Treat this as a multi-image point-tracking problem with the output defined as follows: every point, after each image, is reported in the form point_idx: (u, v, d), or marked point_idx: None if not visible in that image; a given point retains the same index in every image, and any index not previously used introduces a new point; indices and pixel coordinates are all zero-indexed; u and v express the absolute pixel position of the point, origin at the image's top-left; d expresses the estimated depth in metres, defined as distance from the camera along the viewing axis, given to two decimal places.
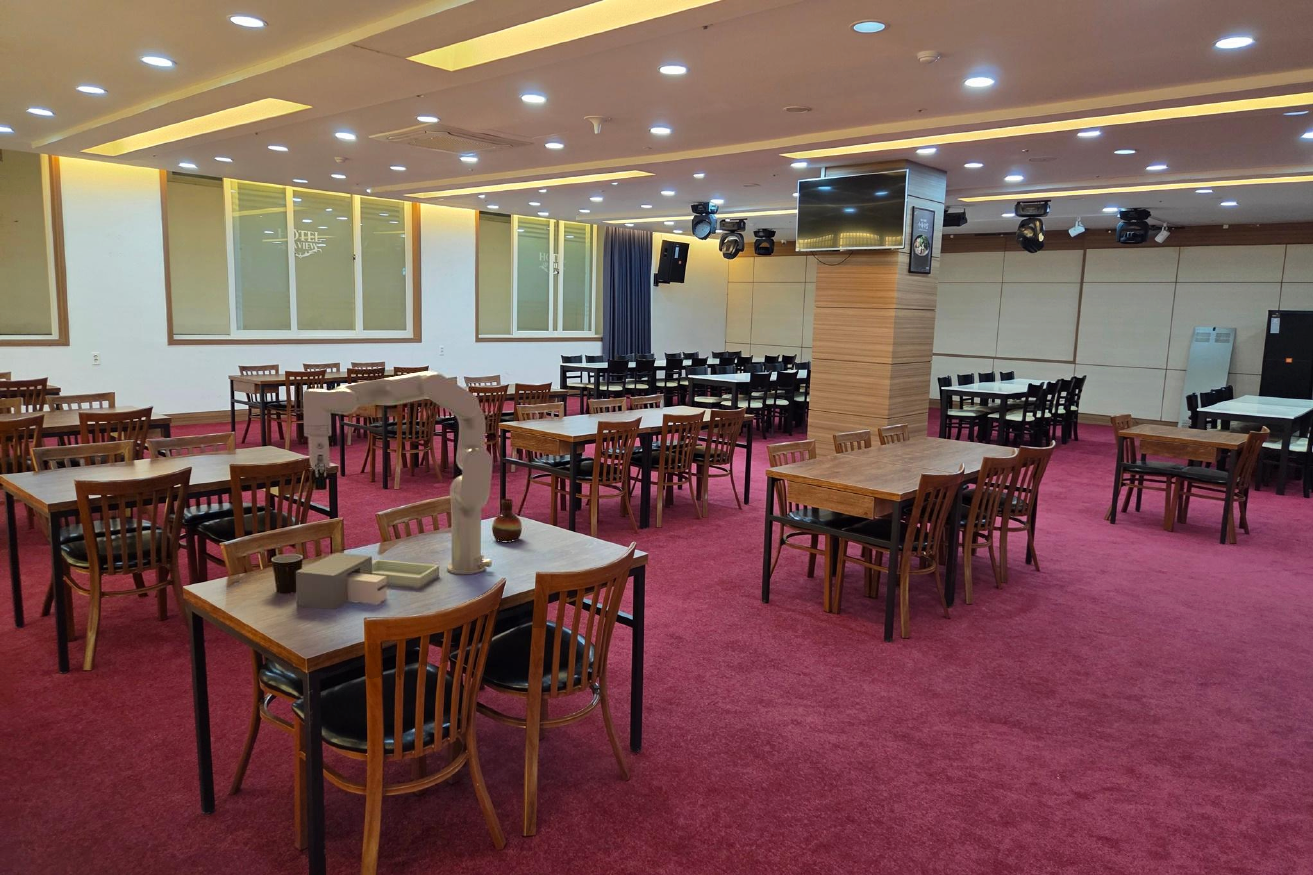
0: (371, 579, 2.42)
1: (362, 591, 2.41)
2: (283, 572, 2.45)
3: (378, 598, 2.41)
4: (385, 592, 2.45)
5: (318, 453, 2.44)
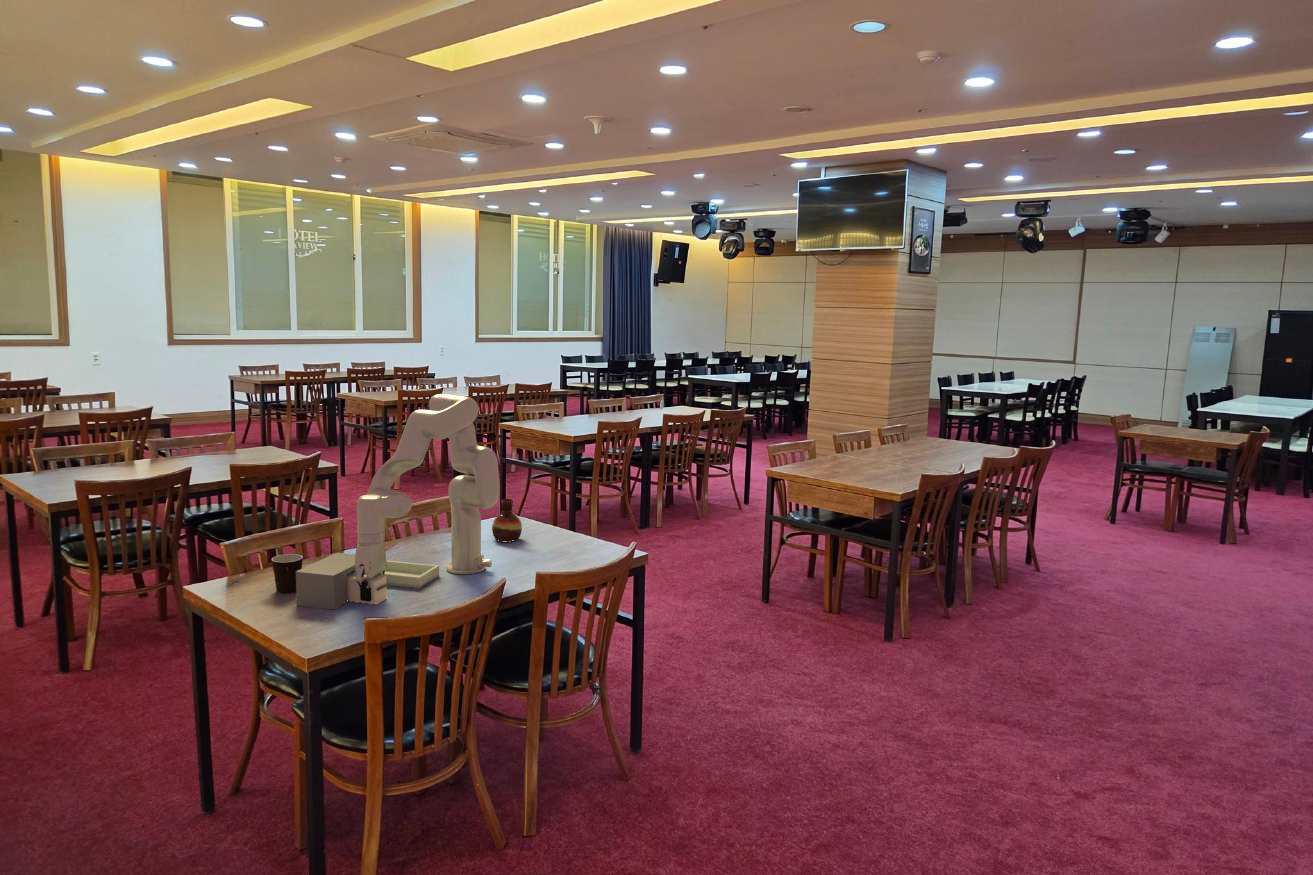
0: None
1: None
2: (283, 572, 2.45)
3: (376, 597, 2.41)
4: (385, 592, 2.45)
5: None
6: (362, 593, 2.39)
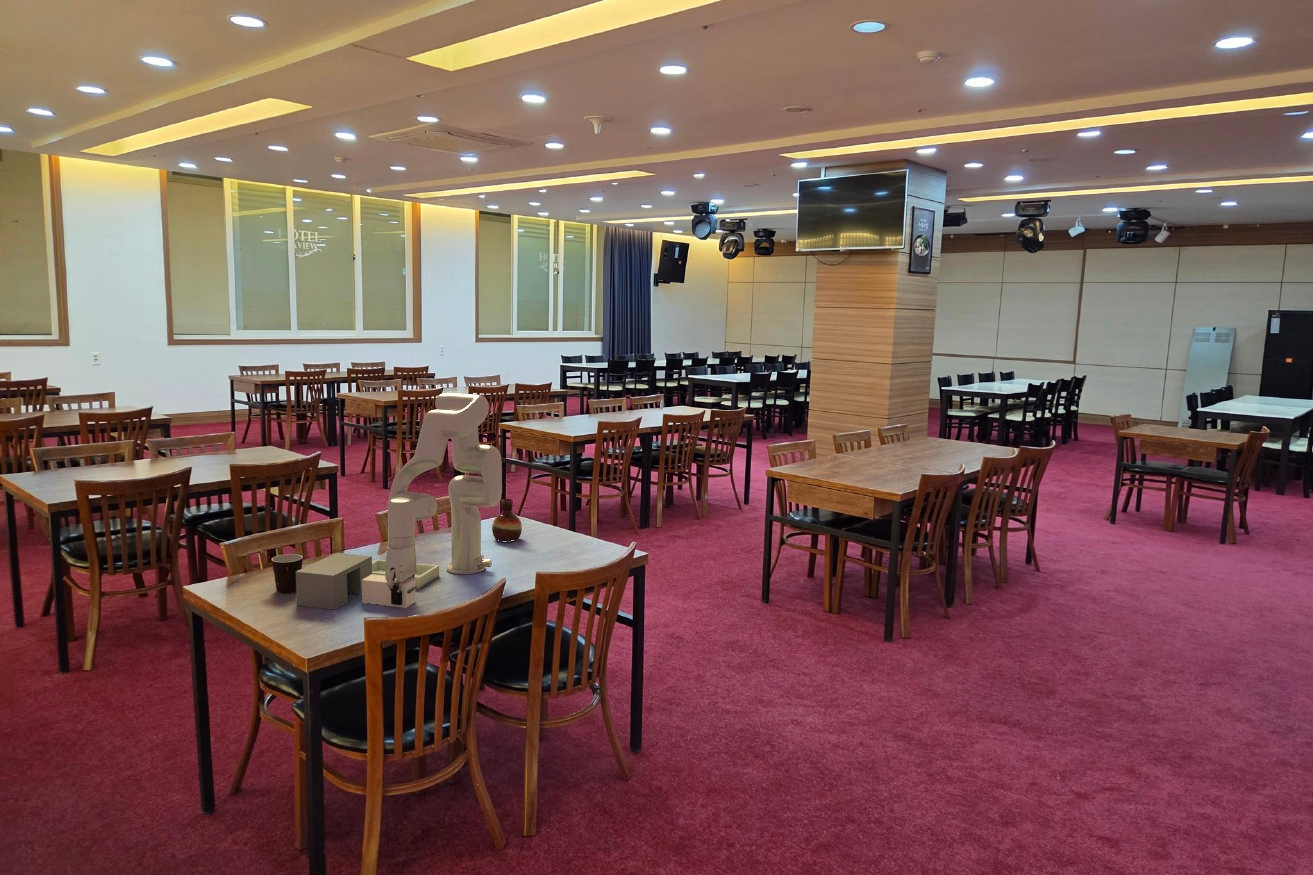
0: None
1: None
2: (283, 572, 2.45)
3: (407, 600, 2.39)
4: (414, 594, 2.43)
5: None
6: (393, 597, 2.37)
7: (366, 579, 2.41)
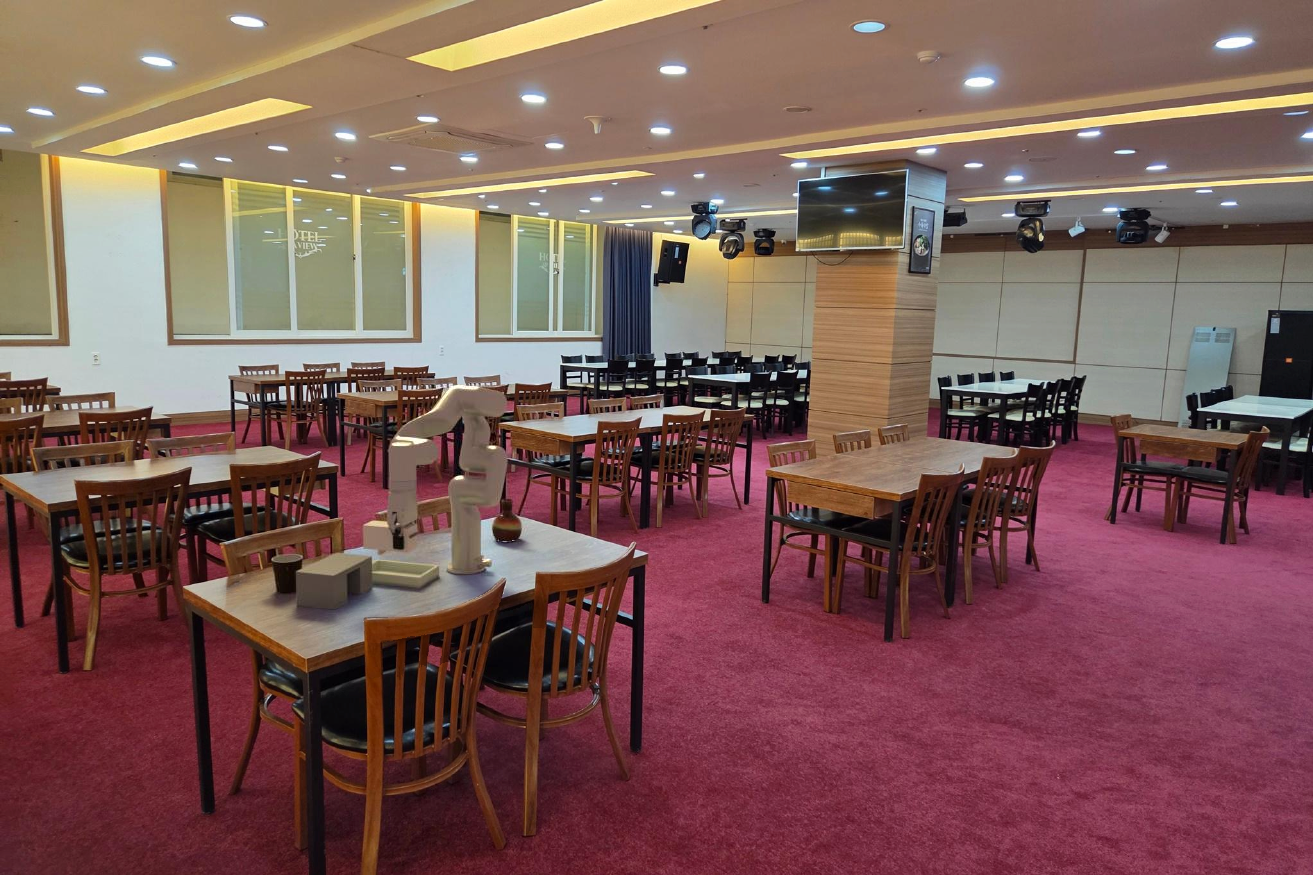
0: None
1: None
2: (283, 572, 2.45)
3: (409, 545, 2.38)
4: (416, 540, 2.42)
5: None
6: (395, 541, 2.36)
7: (367, 524, 2.40)
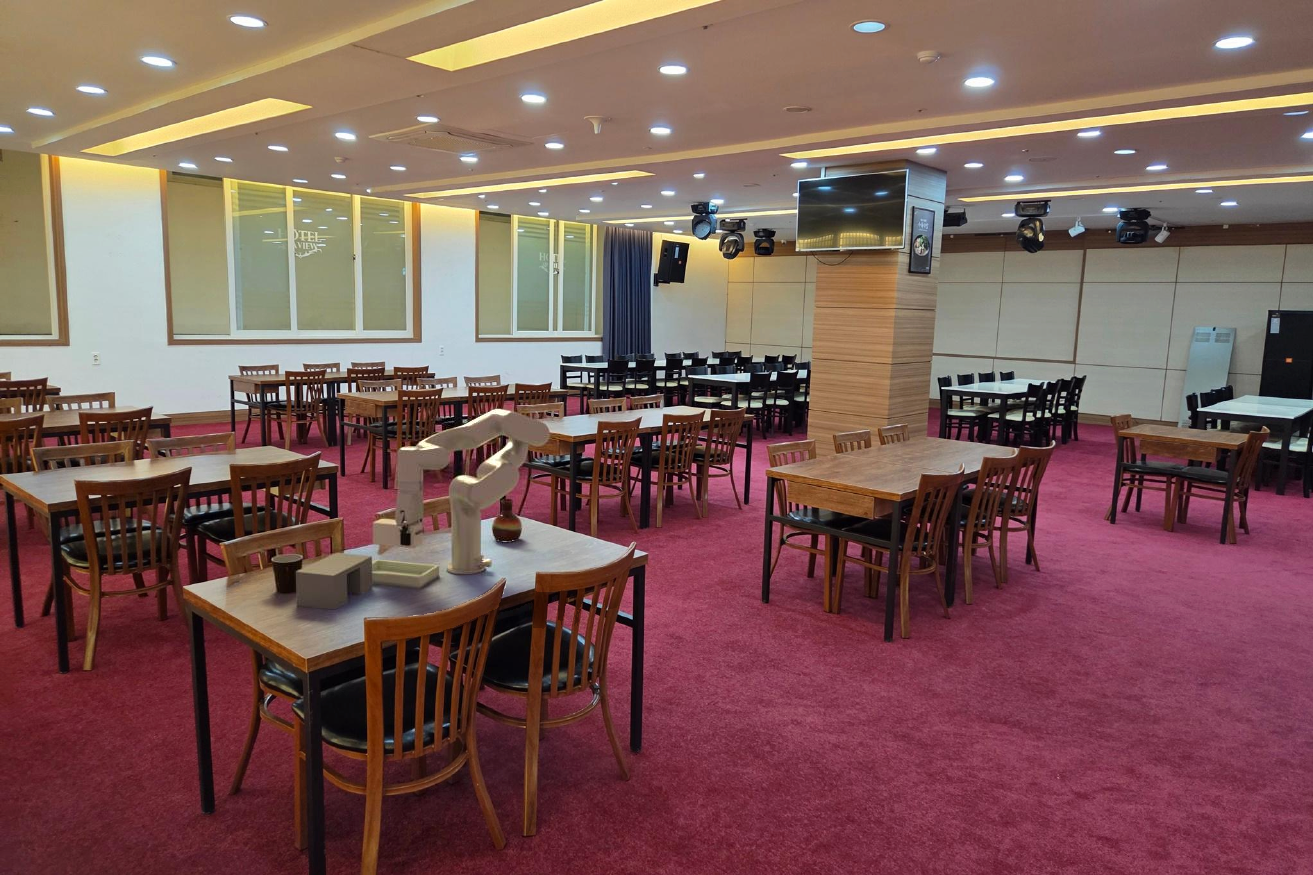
0: None
1: None
2: (283, 572, 2.45)
3: (415, 541, 2.58)
4: (422, 537, 2.63)
5: None
6: (402, 538, 2.57)
7: (377, 522, 2.60)
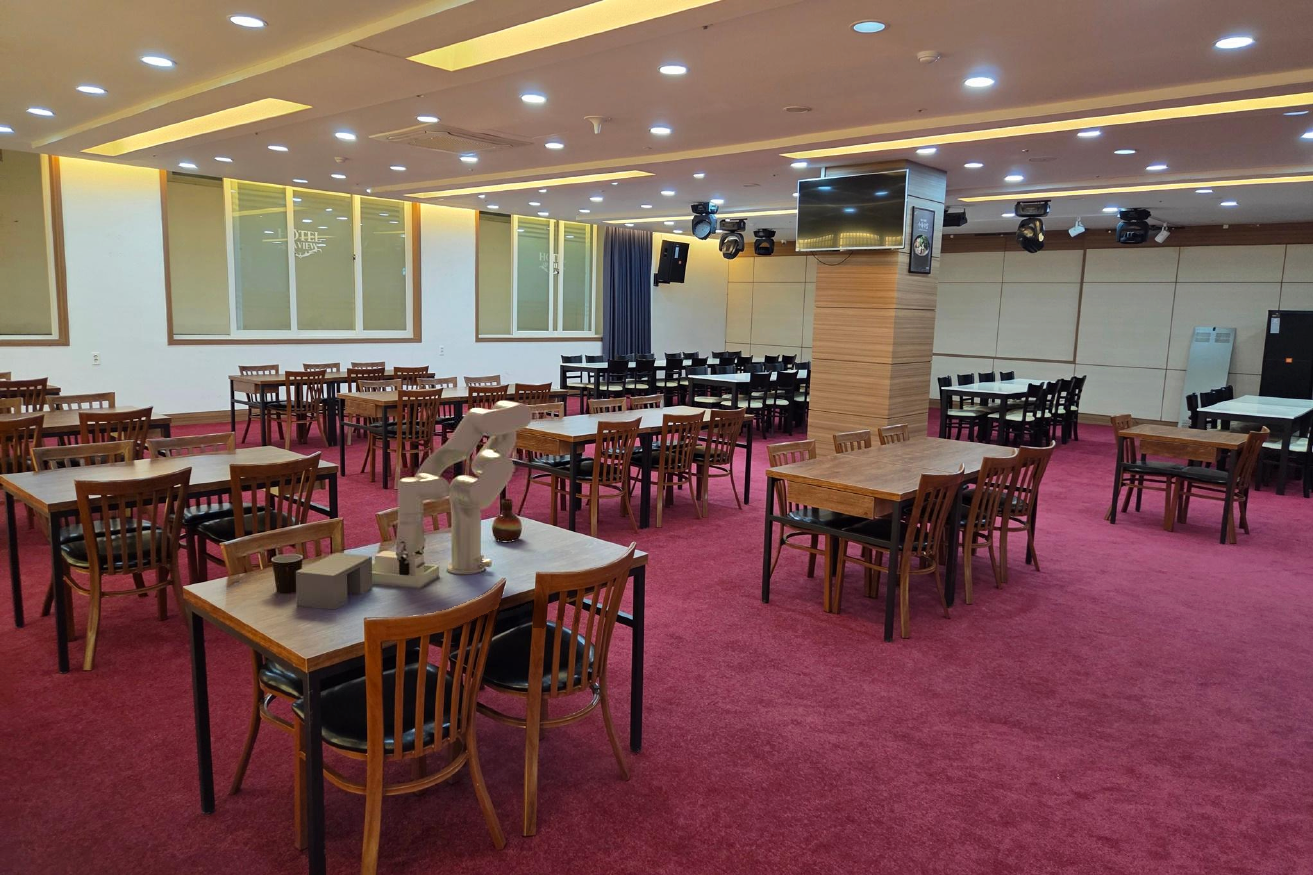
0: (410, 557, 2.61)
1: None
2: (283, 572, 2.45)
3: (416, 574, 2.60)
4: (423, 569, 2.64)
5: None
6: (401, 568, 2.57)
7: (379, 555, 2.62)
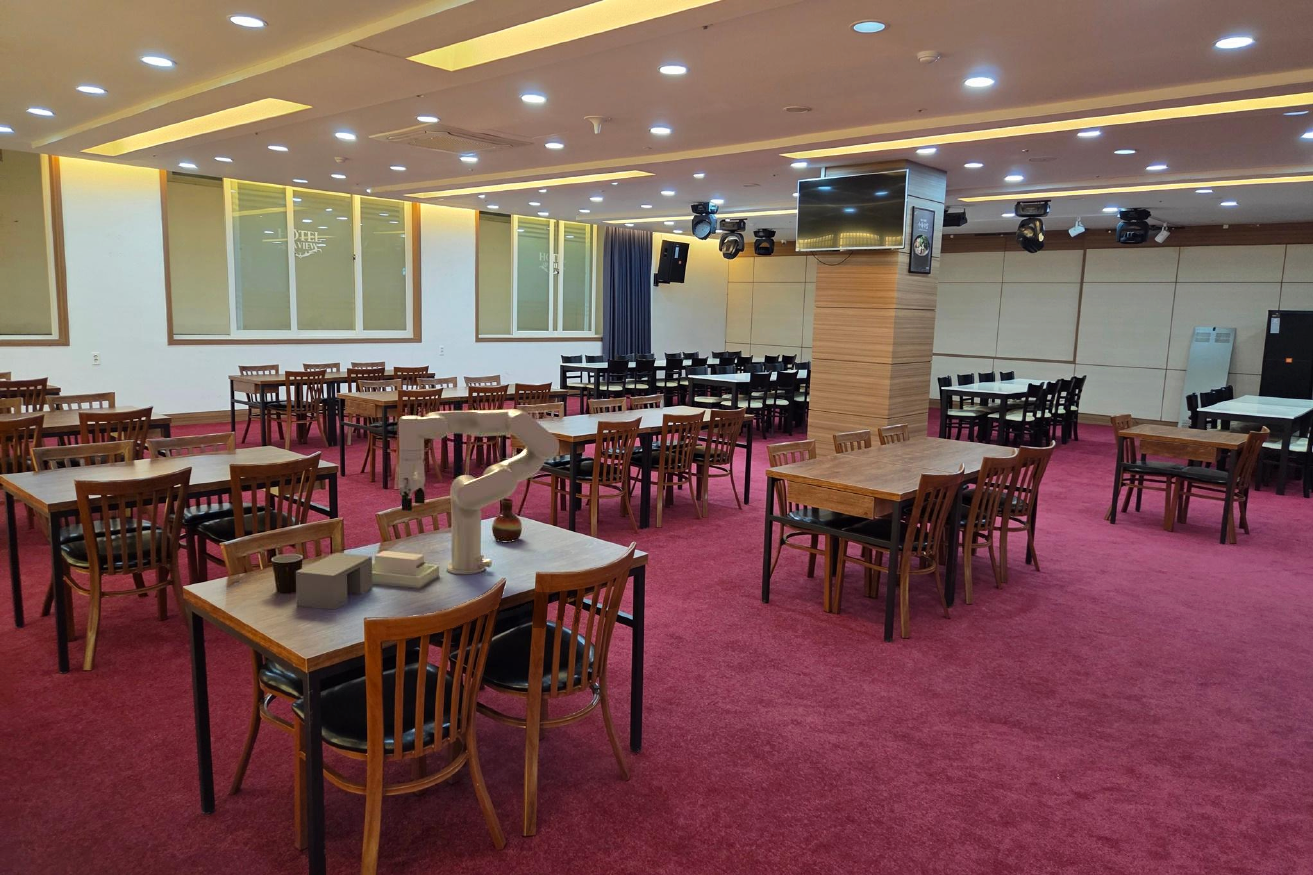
0: (410, 557, 2.61)
1: (402, 568, 2.60)
2: (283, 572, 2.45)
3: (416, 574, 2.60)
4: (423, 569, 2.64)
5: None
6: (404, 503, 2.60)
7: (379, 555, 2.62)
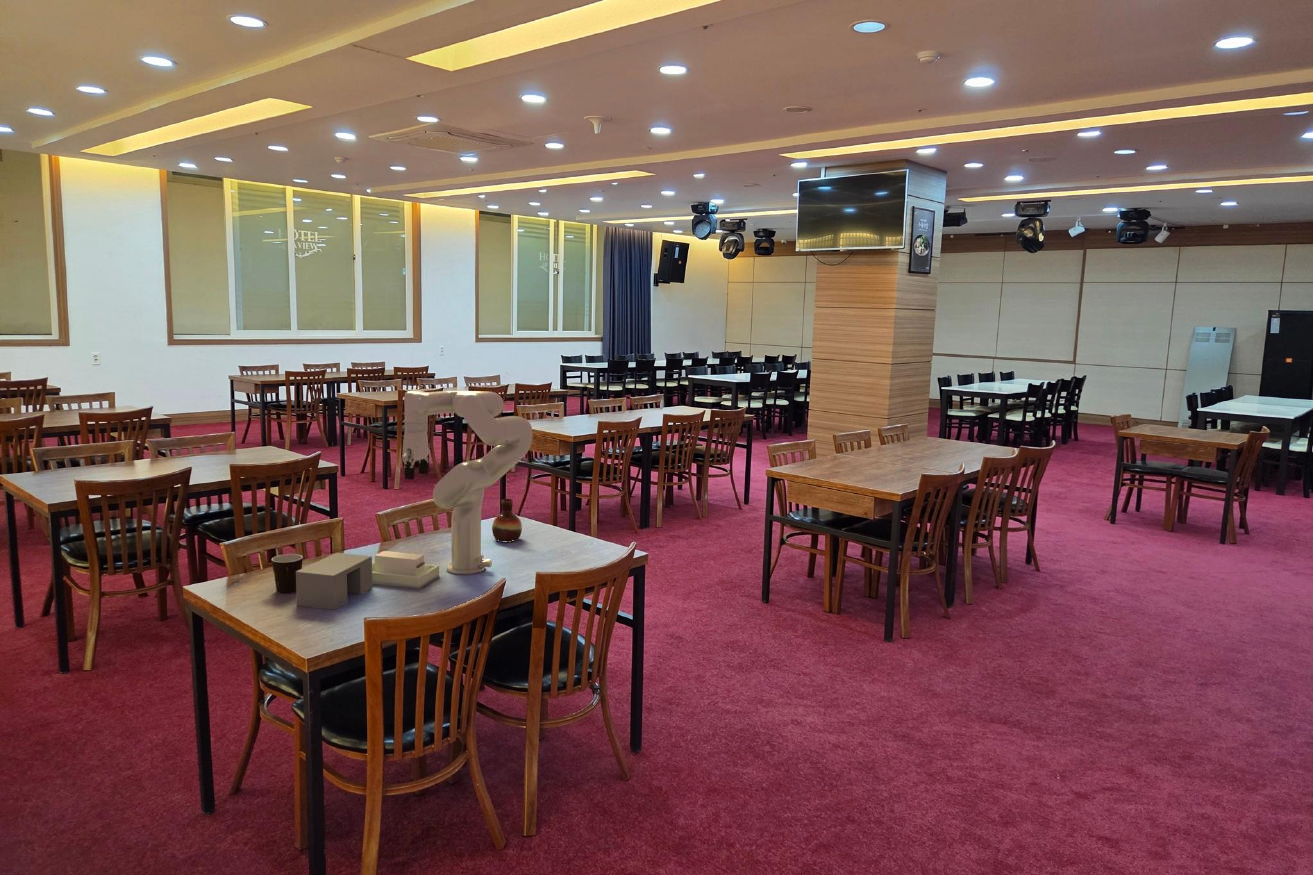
0: (410, 557, 2.61)
1: (402, 568, 2.60)
2: (283, 572, 2.45)
3: (416, 574, 2.60)
4: (423, 569, 2.64)
5: None
6: (406, 472, 2.78)
7: (379, 555, 2.62)
